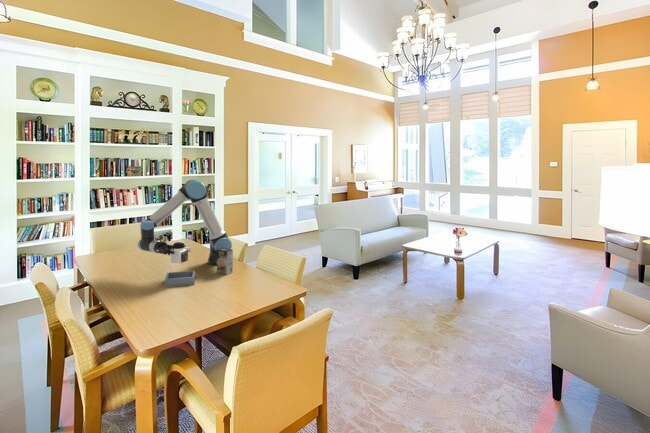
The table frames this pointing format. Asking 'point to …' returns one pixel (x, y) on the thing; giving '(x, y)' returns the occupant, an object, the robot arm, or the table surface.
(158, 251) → the robot arm
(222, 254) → the coffee box
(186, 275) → the tote
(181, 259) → the medicine bottle
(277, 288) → the table surface
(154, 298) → the table surface
